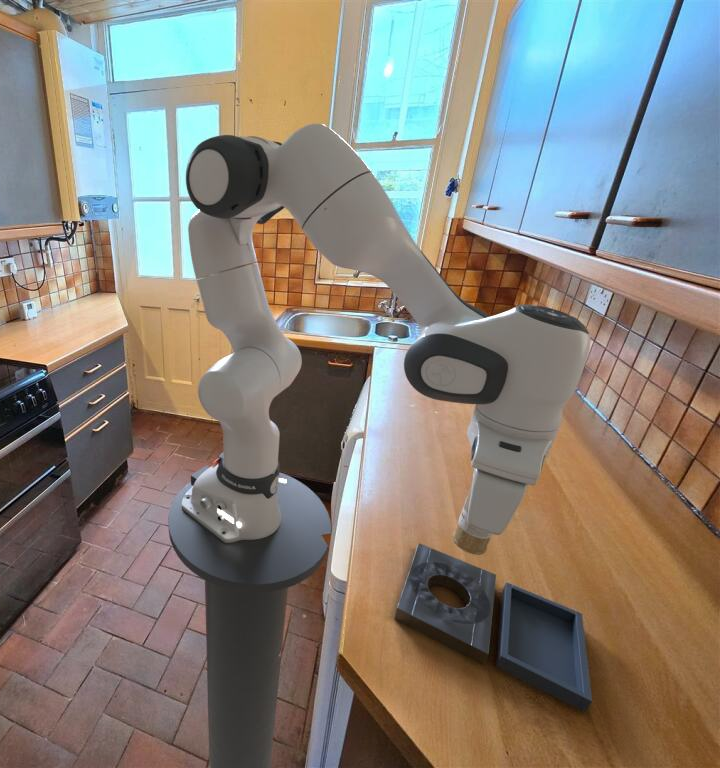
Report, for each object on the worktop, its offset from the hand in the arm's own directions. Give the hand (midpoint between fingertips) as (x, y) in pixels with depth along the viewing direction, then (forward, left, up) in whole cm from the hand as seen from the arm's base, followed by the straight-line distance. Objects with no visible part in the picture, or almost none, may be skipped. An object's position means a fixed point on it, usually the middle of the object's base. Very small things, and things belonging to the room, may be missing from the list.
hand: (479, 515), depth 58 cm
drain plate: (-1, 0, -19) cm, 19 cm away
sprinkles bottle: (0, 0, -6) cm, 6 cm away
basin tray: (+12, 0, -19) cm, 22 cm away
